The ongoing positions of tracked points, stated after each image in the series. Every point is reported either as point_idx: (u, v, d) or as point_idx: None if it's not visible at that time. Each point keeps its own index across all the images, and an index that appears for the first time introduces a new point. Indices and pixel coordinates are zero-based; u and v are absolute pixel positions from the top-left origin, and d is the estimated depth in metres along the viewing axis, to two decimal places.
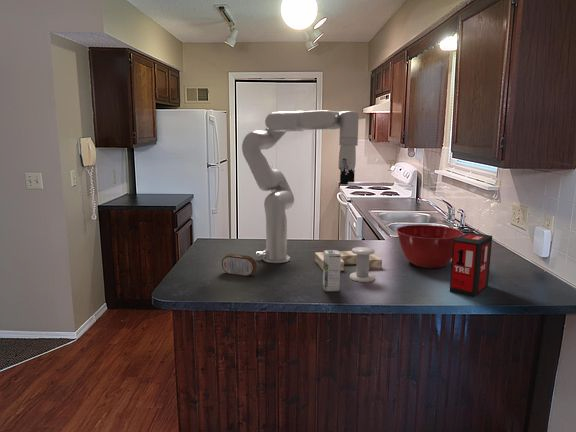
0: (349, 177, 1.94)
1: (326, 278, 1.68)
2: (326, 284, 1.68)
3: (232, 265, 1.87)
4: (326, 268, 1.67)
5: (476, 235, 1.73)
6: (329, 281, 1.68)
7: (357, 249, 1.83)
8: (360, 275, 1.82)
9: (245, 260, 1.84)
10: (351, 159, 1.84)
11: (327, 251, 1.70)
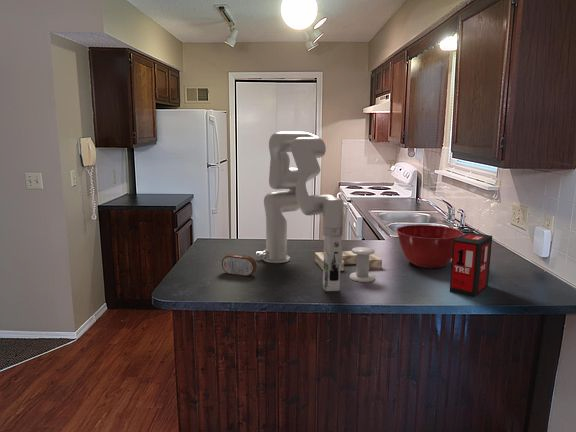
0: None
1: (326, 278, 1.68)
2: (326, 284, 1.68)
3: (232, 265, 1.87)
4: (326, 268, 1.67)
5: (476, 235, 1.73)
6: (329, 281, 1.68)
7: (357, 249, 1.83)
8: (360, 275, 1.82)
9: (245, 260, 1.84)
10: (324, 247, 1.71)
11: None
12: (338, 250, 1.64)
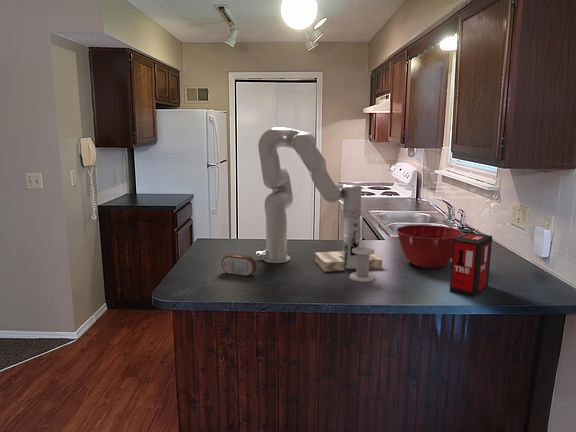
0: None
1: (346, 257, 1.95)
2: (346, 262, 1.96)
3: (232, 265, 1.87)
4: (346, 249, 1.94)
5: (476, 235, 1.73)
6: (348, 260, 1.95)
7: (357, 249, 1.83)
8: (360, 275, 1.82)
9: (245, 260, 1.84)
10: (344, 228, 1.98)
11: None
12: (357, 230, 1.91)
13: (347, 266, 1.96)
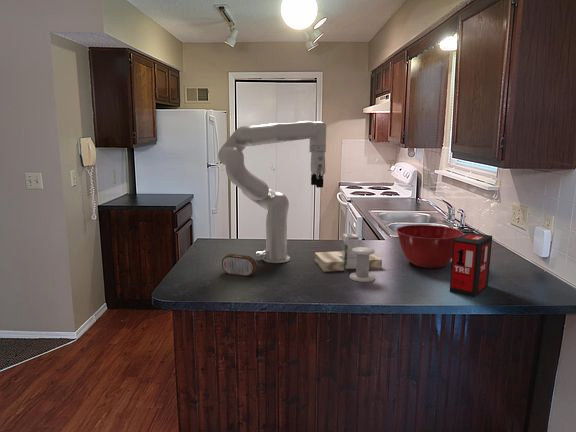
0: None
1: (346, 257, 1.95)
2: (346, 262, 1.96)
3: (232, 265, 1.87)
4: (346, 249, 1.95)
5: (476, 235, 1.73)
6: (348, 260, 1.96)
7: (357, 249, 1.83)
8: (360, 275, 1.82)
9: (245, 260, 1.84)
10: (311, 163, 2.12)
11: (346, 234, 1.97)
12: (322, 163, 2.05)
13: (347, 266, 1.96)
